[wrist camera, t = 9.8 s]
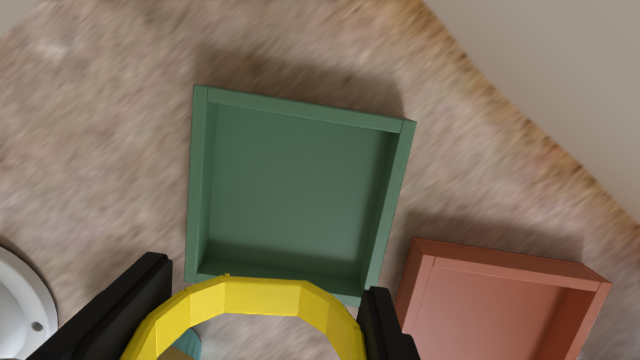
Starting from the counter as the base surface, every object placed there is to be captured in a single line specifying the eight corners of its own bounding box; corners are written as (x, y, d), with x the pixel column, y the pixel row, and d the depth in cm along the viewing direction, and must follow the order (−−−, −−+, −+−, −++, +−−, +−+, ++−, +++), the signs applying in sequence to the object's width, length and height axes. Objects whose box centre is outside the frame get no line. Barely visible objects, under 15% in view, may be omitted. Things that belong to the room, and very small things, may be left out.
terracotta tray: (370, 393, 26) (375, 423, 24) (412, 236, 22) (423, 254, 20) (515, 413, 26) (534, 445, 24) (582, 263, 22) (613, 283, 20)
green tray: (198, 261, 23) (183, 281, 20) (209, 85, 19) (193, 84, 17) (366, 286, 23) (371, 309, 21) (406, 118, 20) (417, 121, 17)
